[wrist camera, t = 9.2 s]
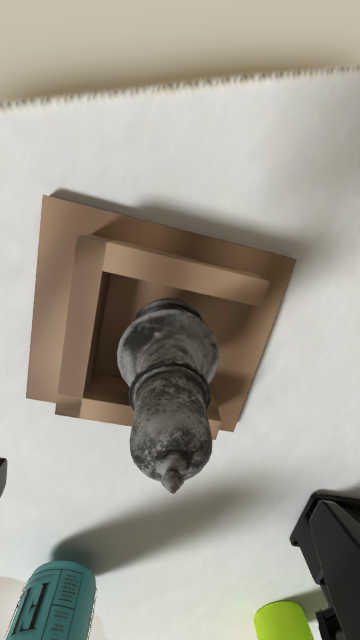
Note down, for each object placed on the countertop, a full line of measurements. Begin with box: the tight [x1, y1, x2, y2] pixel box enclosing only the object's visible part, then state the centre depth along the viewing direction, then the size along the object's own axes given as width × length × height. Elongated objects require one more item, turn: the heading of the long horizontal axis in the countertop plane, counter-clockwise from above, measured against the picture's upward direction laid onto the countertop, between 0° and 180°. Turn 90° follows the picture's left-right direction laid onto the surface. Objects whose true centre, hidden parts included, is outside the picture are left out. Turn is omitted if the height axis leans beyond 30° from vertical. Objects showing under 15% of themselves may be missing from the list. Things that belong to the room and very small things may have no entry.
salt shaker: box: [117, 299, 220, 494], centre depth 13 cm, size 6×6×12 cm
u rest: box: [26, 195, 296, 440], centre depth 18 cm, size 16×14×4 cm
